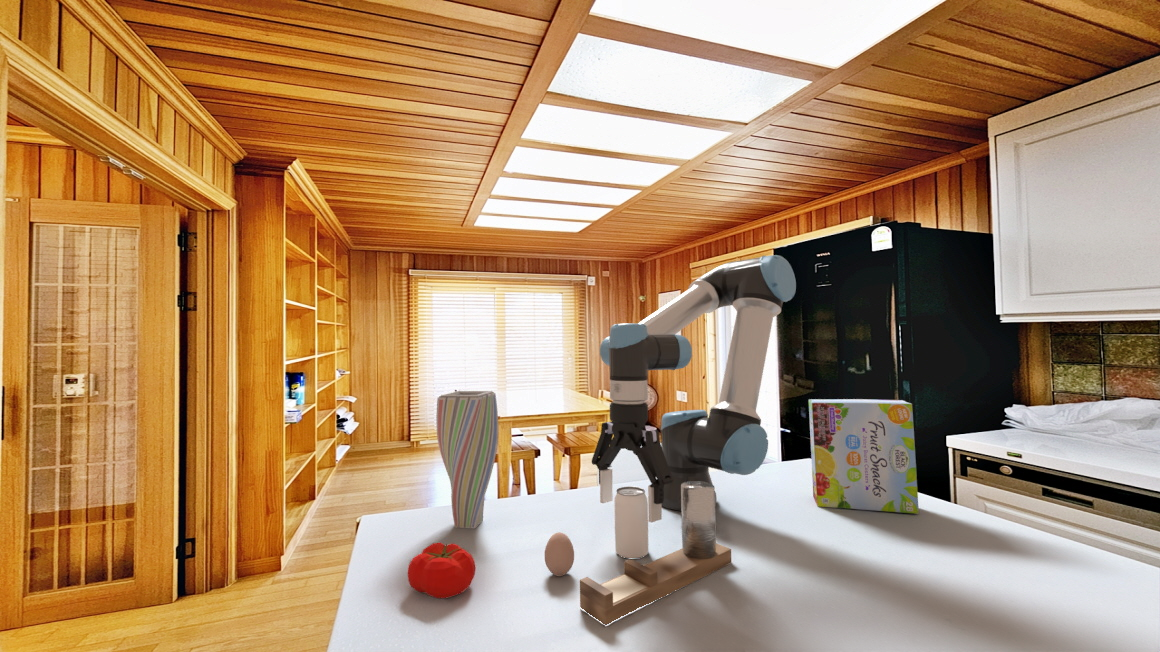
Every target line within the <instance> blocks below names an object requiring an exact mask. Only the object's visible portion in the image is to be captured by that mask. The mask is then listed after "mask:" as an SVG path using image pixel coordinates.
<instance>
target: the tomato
mask: <svg viewBox="0 0 1160 652" xmlns="http://www.w3.org/2000/svg"><path fill="white" fill-rule="evenodd" d="M475 575H476V561H475V560H474V557H473V556H472V554H470V553H469V552H468V551H467V550H466V549H464V548H463V547H461V546H459V545H458V544H456V543H449V544H448V543H446V544H444V543H442V542H440V541H439V542H434V543H432V544H430V545H428V546H427V547H425V548H424V549H423V550H422V551H421V553H419V554H417V555H416V556H414V557H412V559H411V561H410V563H409V564H408V568H407V578H408V583H409V585H410V586H411V588H412V589H414V590H415V591H417V592H419V593H423V594H426V595H428V596H430V597H432V598H436V599H447V598H452V597H454V596H457V595H460V594H462V593H463V592H465V591H466V590H467V589H468V588H469V587H470V586H471V584H472V582H473V580H474V578H475Z"/></svg>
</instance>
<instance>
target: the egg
mask: <svg viewBox="0 0 1160 652" xmlns="http://www.w3.org/2000/svg"><path fill="white" fill-rule="evenodd" d="M574 561H575V550H574V545H573V544H572V541H571V539H570V538H569V536H568V535H567V534H565V533H563V532H558V531H557V532H556V533H554V534H552V535H551V536H550V537H549V539H548V541H547V544H546V545H545V548H544V562H545V565H546V567H547V569H548V571H549V572H550V573H551V574H552V575H554V576H557V577H563V576H565V575H566V574H567V573H569V572H570V570H571V569H572V567H573V564H574Z"/></svg>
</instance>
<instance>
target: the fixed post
mask: <svg viewBox="0 0 1160 652" xmlns="http://www.w3.org/2000/svg"><path fill="white" fill-rule="evenodd" d="M712 484H713V483H712ZM712 484H710V483H706V482H700V481H689V482H684V483H682V484H681V507H682V511H681V538H682V539H681V541H682V542H681V543H682V548H683V553H684V554H685V555H686V556H688V557H690V558H694V559H701V560H705V559H711V558H713V557H715V556H716V543H717V538H716V537H717V535H716V531H717V530H716V529H717V527H716V526H717V525H716V506H715V492H716V491H715V485H714V484H713V485H712ZM682 548H681V549H682Z"/></svg>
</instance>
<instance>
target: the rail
mask: <svg viewBox="0 0 1160 652" xmlns="http://www.w3.org/2000/svg"><path fill="white" fill-rule="evenodd" d="M730 564H732V548H730V547H727V546H725V545H721V544H719V543H717V542H716V556H715V557H713V558H711V559H705V560H701V559H694V558H690V557H688V556H686V555H685V554H684V553H683V548H680V549H678V550H675V551H673V552H671V553H669V554H666V555H663V556H662V557H660V558H657V559H655V560H652V561H651V562H648V563H646V564H642V563H640V562H639V561H636V560H635V559H626V560H624V562H623V565H624V566H623V568H624V571H623V572H624V573H623V574H620V575H618V576H616V577H612V578H610V579H609V580H607V581H604V582H602V583H599V582H597V581H595V580H594V579H592V578H590V577H589V576H586V577H582V578H580V579H579V608H580V607H581V608H582V609H584V610H585V611H586V612H587V613H589V614H590V615H592V616H593V617H595V618H596V619H598V620H599V621H601V622H602V623H603V624H605V625H607V624H609V623H611V622H612V621H614V620H616V619H618V618H620V617H621V616H624V615H626V614H628V613H629V612H632V611H634V610H636V609H637V608H639V607H642V606H644V605H646V604H649V603H651V602H653V601H655V600H657V599H659V598H661V597H663V598H665V597H667V596H668V595H667V594H669V595H671V594H673V593H675V592H676V591H675V590H677V591H679V590H681V589H682V587H683V588H684V586H685V587H687V586H689V585H691V584H693V583H695V582H696V580H697V581H699V580H700V579H703V578H704V577H706V576H708V575H710V574H712V573H714V572H716V571H718V570H720V569H721V568H724V567H726V566H728V565H730ZM694 581H695V582H694ZM688 584H689V585H688ZM680 588H681V589H680ZM678 589H679V590H678ZM674 591H675V592H674ZM672 592H673V593H672ZM670 593H671V594H670ZM666 595H667V596H666ZM664 596H665V597H664Z"/></svg>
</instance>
